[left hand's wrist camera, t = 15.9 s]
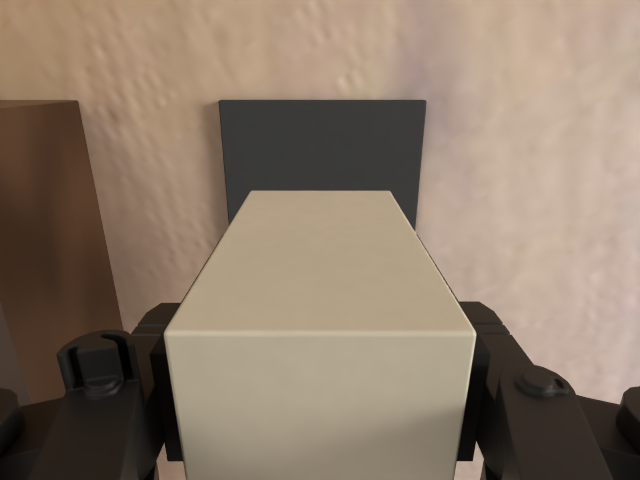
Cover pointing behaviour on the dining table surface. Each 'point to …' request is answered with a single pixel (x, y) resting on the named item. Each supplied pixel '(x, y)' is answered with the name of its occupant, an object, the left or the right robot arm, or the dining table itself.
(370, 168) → the mat
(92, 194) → the walnut box
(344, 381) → the beige block
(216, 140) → the dining table surface
